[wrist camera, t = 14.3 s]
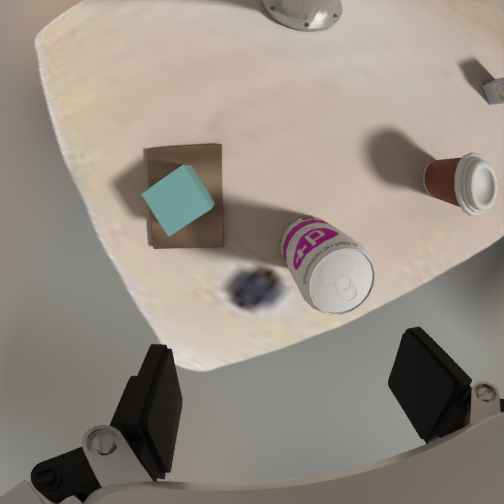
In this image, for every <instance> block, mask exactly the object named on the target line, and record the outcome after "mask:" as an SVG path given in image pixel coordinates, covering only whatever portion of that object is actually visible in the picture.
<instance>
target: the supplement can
mask: <svg viewBox="0 0 504 504" xmlns="http://www.w3.org/2000/svg"><path fill="white" fill-rule="evenodd" d="M280 247H281V254H282V256H283V259H284V261H285V263H286V265H287V267H288V269H289V271H290V272H291V274H292V276H293V278H294V280H295V282H296V284H297V286H298V288H299V290H300V292H301V294H302V296H303V298H304V300H305V301H306V302H307V303H308V304H309V305H310V306H311V307H312V308H313V309H316V310H318V311H321V312H323V313H328V314H330V315H343V314H346V313H350V312H353V311H354V310H356V309H357V308H359V307H360V306H361V305H363V304H364V302H365V301H366V300H367V299H368V297H369V296H370V294H371V292H372V290H373V287H374V285H375V274H376V273H375V270H374V264H373V260H372V256H371V254H370V253H369V252H368V250H367V249H366V248H365V246H364V245H363V244H361V243H359V242H358V241H356V240H355V239H353V238H351V237H350V236H348V235H347V234H345V233H343V232H342V231H340V230H338V229H337V228H335V227H334V226H332V225H330V224H329V223H327V222H325V221H323V220H321V219H320V218H318V217H310V216H307V217H303V218H299V219H297V220H295V221H294V222H292V223H291V224H289V226H288V227H287V228H286V230H285V231H284V232H283V235H282V238H281V242H280Z"/></svg>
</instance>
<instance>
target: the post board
mask: <svg viewBox="0 0 504 504" xmlns="http://www.w3.org/2000/svg"><path fill="white" fill-rule="evenodd" d="M182 165H190V166H192V167H193V169H194V170H195V172H196V173H197V175H198V176H199V178H200V180H201V181H202V183H203V184H204V186H205V187H206V189H207V191H208V192H209V194H210V195H211V197H212V198H213V200H214V202H215V205H214V206H213V208H212V209H211V210H209V211H208V212H206V213H204V214H203V215H201V216H200V217H198V218H197V219H195V220H194V221H192V222H190V223H189V224H187V225H186V226H184V227H183V228H181V229H180V230H178V231H177V232H175V233H174V234H172V235H171V236H168V235H167V233H166V232H165V230H164V229H163V227H162V226H161V224H160V223H159V221H158V220H157V218H156V217H155V215H154V213H153V212H152V210H151V209H150V211H151V225H152V237H153V248H154V249H166V248H208V247H223V246H224V240H223V205H222V145H221V144H210V145H191V146H176V147H164V148H154V149H148V167H149V188H150V187H152V186H153V185H155V184H156V183H157V182H159V181H160V180H162V179H163V178H165V177H166V176H167V175H169V174H170V173H172V172H173V171H175V170H176V169H178V168H179V167H181V166H182Z"/></svg>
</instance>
